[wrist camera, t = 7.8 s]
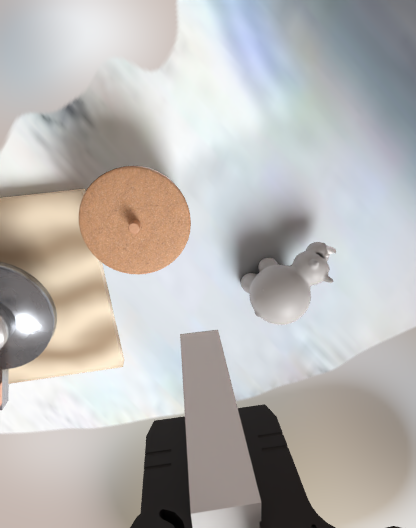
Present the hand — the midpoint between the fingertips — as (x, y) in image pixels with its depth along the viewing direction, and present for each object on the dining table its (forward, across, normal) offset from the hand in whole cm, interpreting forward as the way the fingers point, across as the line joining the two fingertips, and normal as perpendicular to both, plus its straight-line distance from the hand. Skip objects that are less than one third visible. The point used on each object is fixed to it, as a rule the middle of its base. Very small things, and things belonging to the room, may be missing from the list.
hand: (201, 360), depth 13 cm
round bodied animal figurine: (+28, +13, -9) cm, 32 cm away
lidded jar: (+28, -4, +1) cm, 29 cm away
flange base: (+28, -20, -8) cm, 35 cm away
